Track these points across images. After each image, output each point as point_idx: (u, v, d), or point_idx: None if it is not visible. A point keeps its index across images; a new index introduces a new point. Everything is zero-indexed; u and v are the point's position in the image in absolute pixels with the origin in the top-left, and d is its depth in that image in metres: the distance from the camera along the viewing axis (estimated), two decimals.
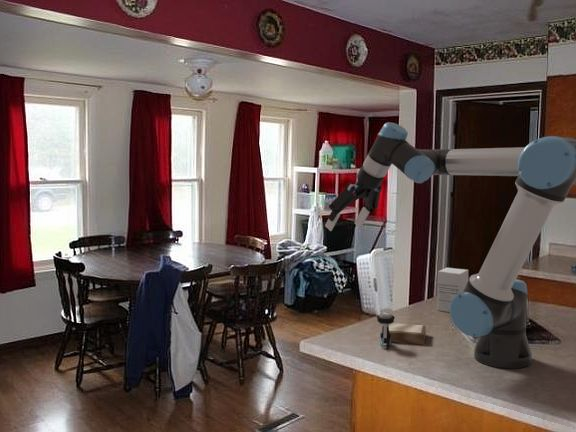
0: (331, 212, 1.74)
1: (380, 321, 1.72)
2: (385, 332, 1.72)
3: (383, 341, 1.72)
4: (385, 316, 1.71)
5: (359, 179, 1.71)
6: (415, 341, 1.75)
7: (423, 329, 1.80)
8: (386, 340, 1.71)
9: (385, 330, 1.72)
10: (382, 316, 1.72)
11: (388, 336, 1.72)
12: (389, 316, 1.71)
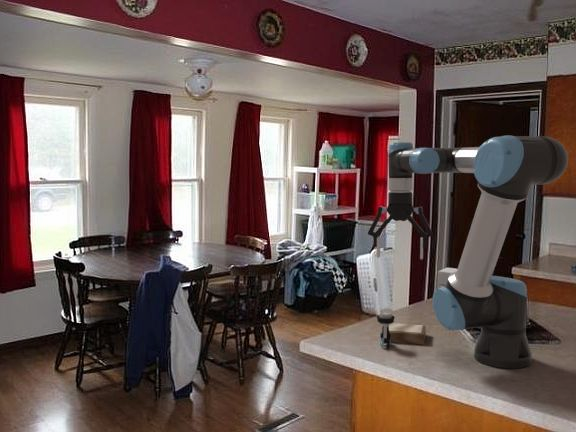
0: None
1: (380, 321, 1.72)
2: (385, 332, 1.72)
3: (383, 341, 1.72)
4: (385, 316, 1.71)
5: None
6: (415, 341, 1.75)
7: (423, 329, 1.80)
8: (386, 340, 1.71)
9: (385, 330, 1.72)
10: (382, 316, 1.72)
11: (388, 336, 1.72)
12: (389, 316, 1.71)
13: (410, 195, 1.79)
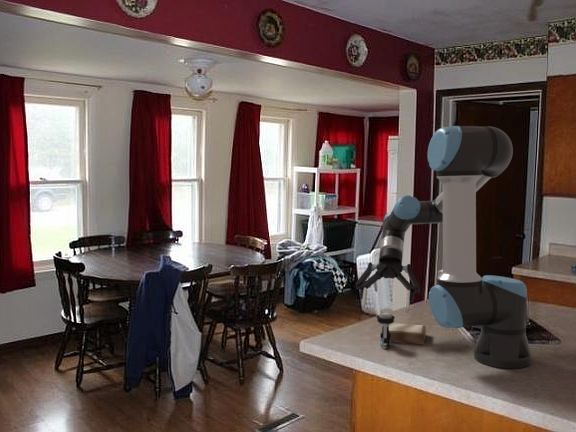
0: None
1: (380, 321, 1.72)
2: (385, 332, 1.72)
3: (383, 341, 1.72)
4: (385, 316, 1.71)
5: None
6: (415, 341, 1.75)
7: (423, 329, 1.80)
8: (386, 340, 1.71)
9: (385, 330, 1.72)
10: (382, 316, 1.72)
11: (388, 336, 1.72)
12: (389, 316, 1.71)
13: (400, 253, 1.87)
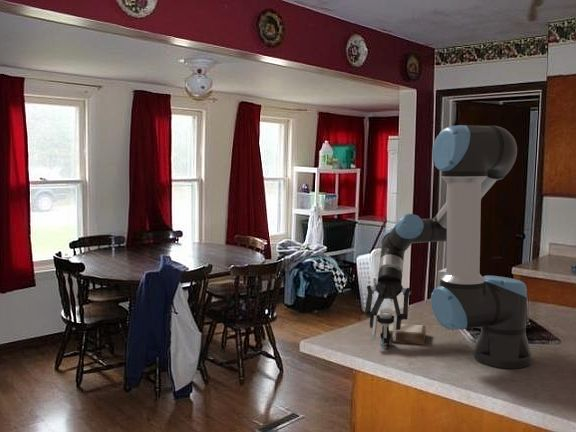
0: None
1: (380, 321, 1.72)
2: (385, 332, 1.72)
3: (383, 341, 1.72)
4: (385, 316, 1.71)
5: None
6: (415, 341, 1.75)
7: (423, 329, 1.80)
8: (386, 340, 1.71)
9: (385, 330, 1.72)
10: (382, 316, 1.72)
11: (388, 336, 1.72)
12: (389, 316, 1.71)
13: (400, 272, 1.80)
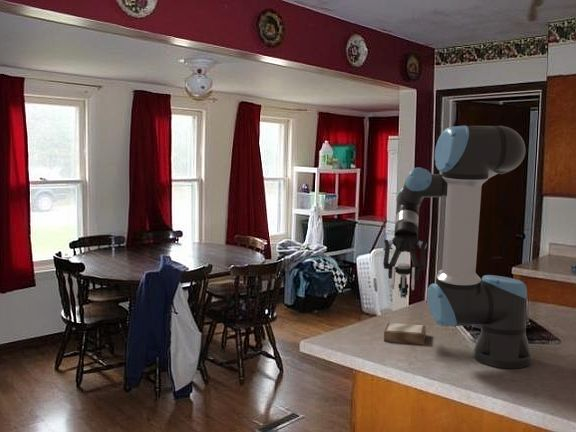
0: None
1: (399, 272, 1.77)
2: (403, 282, 1.78)
3: (401, 291, 1.77)
4: (403, 267, 1.77)
5: None
6: (415, 341, 1.75)
7: (423, 329, 1.80)
8: (404, 290, 1.77)
9: (403, 280, 1.78)
10: (400, 267, 1.78)
11: (406, 286, 1.78)
12: (407, 267, 1.77)
13: (416, 226, 1.86)
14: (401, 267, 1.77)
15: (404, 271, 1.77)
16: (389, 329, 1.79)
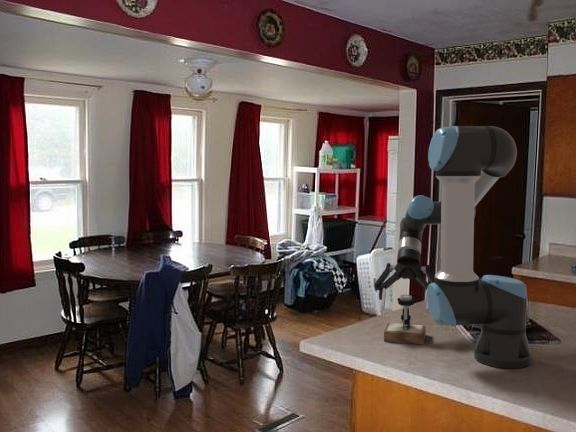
0: None
1: (401, 303, 1.79)
2: (405, 314, 1.80)
3: (404, 322, 1.79)
4: (406, 298, 1.79)
5: None
6: (415, 341, 1.75)
7: (423, 329, 1.80)
8: (406, 321, 1.79)
9: (406, 312, 1.79)
10: (403, 298, 1.80)
11: (408, 318, 1.80)
12: (409, 298, 1.79)
13: (418, 253, 1.88)
14: (403, 299, 1.79)
15: (406, 303, 1.78)
16: (389, 329, 1.79)
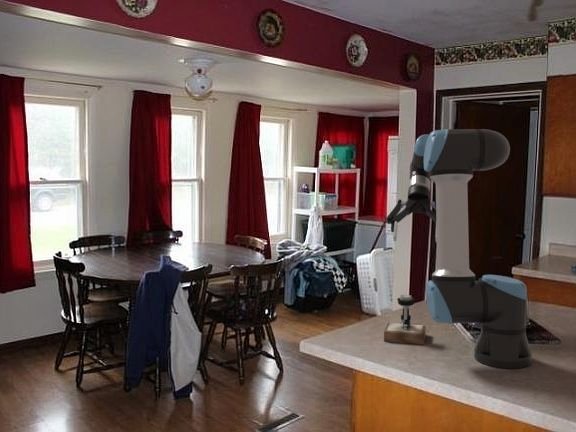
0: None
1: (401, 303, 1.79)
2: (405, 314, 1.80)
3: (404, 322, 1.79)
4: (406, 298, 1.79)
5: None
6: (415, 341, 1.75)
7: (423, 329, 1.80)
8: (406, 321, 1.79)
9: (405, 312, 1.79)
10: (403, 298, 1.80)
11: (408, 318, 1.80)
12: (409, 298, 1.79)
13: (428, 190, 2.00)
14: (403, 299, 1.79)
15: (406, 303, 1.78)
16: (389, 329, 1.79)
